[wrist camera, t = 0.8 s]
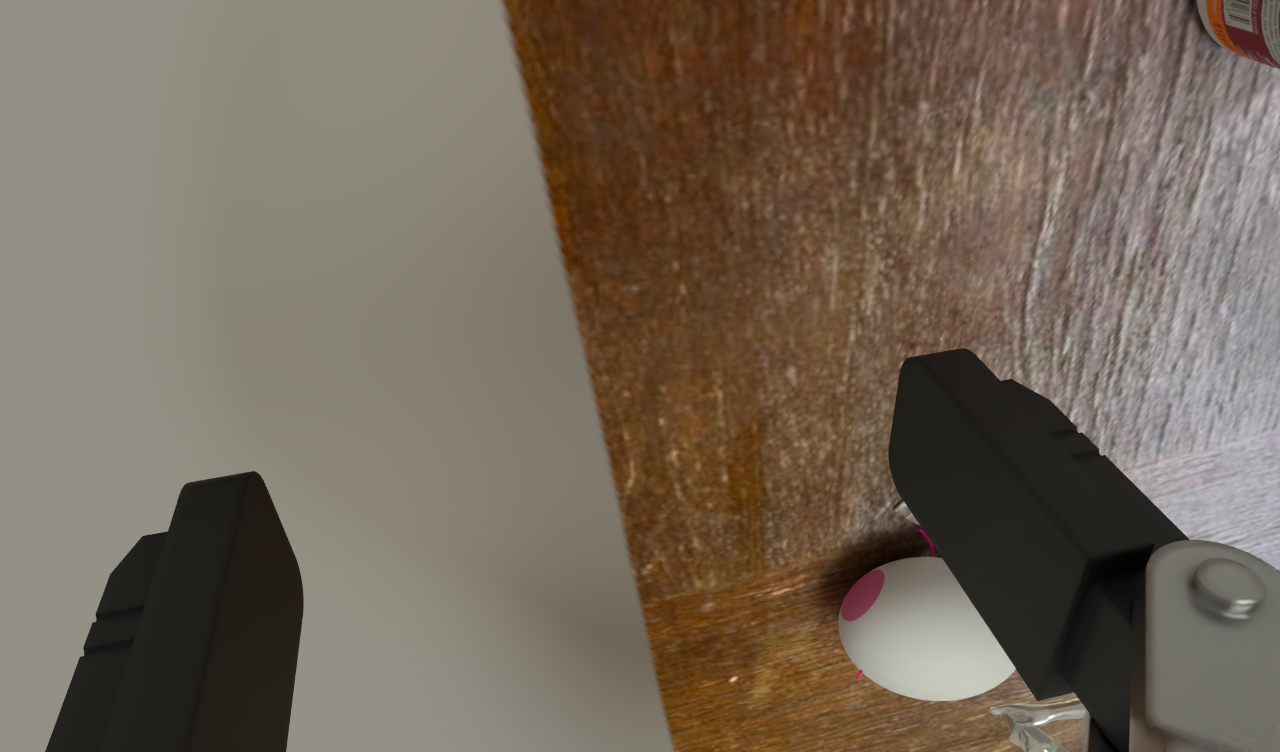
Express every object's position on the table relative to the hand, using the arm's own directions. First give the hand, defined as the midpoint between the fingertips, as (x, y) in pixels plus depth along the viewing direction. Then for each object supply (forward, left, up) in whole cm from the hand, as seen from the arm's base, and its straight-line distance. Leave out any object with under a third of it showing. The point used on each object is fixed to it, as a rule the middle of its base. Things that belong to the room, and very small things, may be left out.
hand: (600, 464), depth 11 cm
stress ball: (+26, +5, -15) cm, 31 cm away
